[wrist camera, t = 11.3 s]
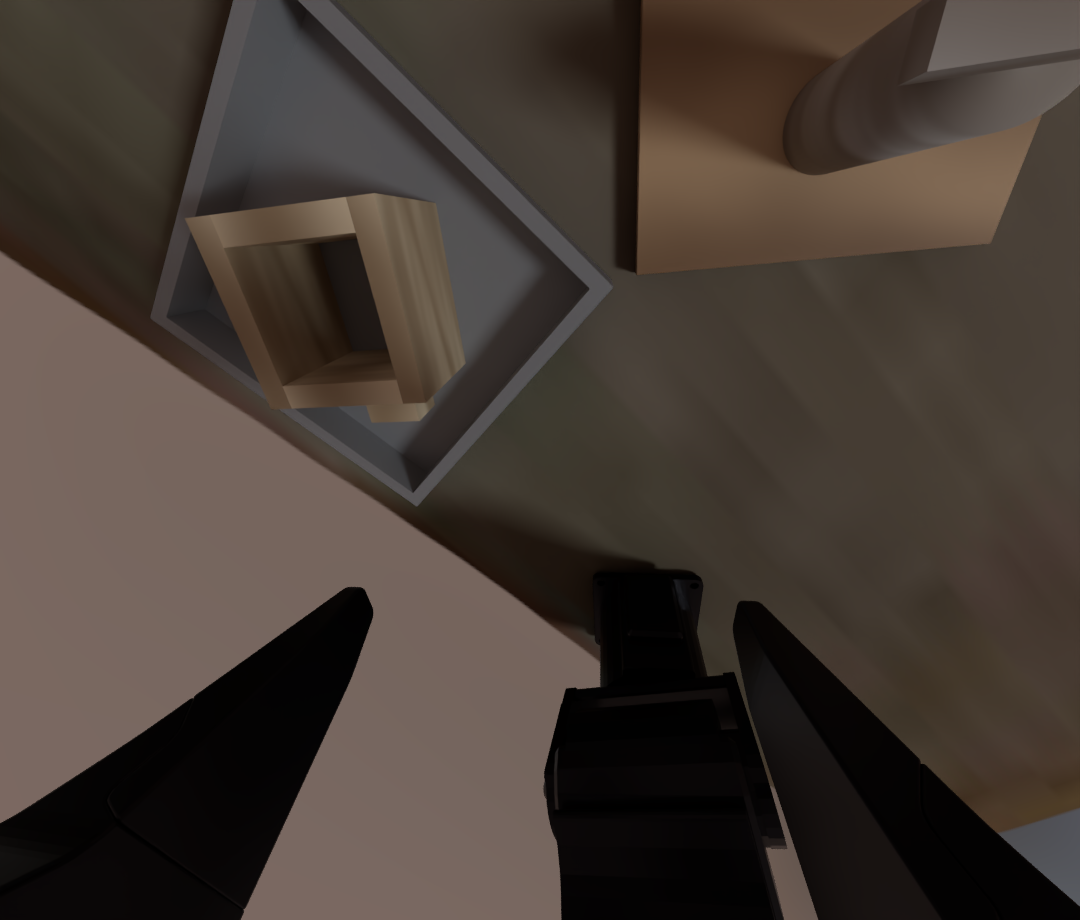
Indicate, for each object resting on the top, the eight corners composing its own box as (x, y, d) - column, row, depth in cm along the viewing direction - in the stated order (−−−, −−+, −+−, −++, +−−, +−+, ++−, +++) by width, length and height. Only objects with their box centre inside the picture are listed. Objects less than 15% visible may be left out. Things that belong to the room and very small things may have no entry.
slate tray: (611, 279, 17) (613, 287, 15) (433, 480, 23) (416, 506, 21) (308, -27, 13) (253, -76, 11) (198, 308, 20) (150, 318, 18)
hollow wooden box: (435, 202, 16) (374, 193, 11) (473, 403, 20) (438, 450, 16) (291, 221, 17) (184, 218, 12) (355, 407, 21) (291, 454, 17)
